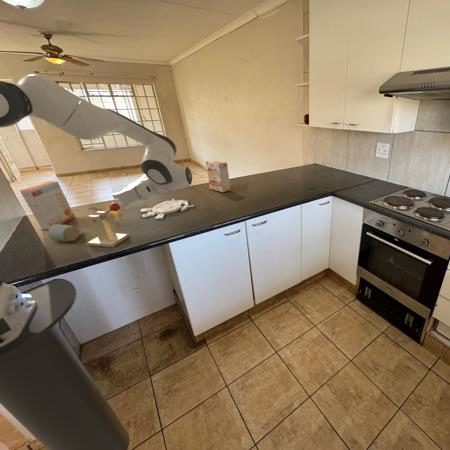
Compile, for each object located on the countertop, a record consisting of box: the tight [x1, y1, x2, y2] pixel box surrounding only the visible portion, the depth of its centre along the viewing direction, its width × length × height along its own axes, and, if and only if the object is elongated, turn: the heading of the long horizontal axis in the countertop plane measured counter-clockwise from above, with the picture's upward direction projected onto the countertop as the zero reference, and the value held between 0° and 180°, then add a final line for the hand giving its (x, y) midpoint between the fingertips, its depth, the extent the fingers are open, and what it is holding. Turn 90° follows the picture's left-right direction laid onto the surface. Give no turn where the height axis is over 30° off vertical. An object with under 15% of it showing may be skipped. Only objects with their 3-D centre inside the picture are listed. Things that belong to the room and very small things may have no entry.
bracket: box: [87, 210, 129, 248], centre depth 110 cm, size 12×9×14 cm
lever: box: [96, 202, 121, 220], centre depth 105 cm, size 14×4×4 cm, turn 81°
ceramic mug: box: [47, 224, 84, 243], centre depth 113 cm, size 11×8×8 cm
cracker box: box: [19, 180, 76, 230], centre depth 124 cm, size 14×6×21 cm, turn 178°
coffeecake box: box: [205, 159, 231, 193], centre depth 170 cm, size 15×7×20 cm, turn 53°
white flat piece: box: [140, 198, 195, 220], centre depth 145 cm, size 21×28×1 cm
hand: (121, 191), depth 100 cm, fingers open, 8 cm apart
